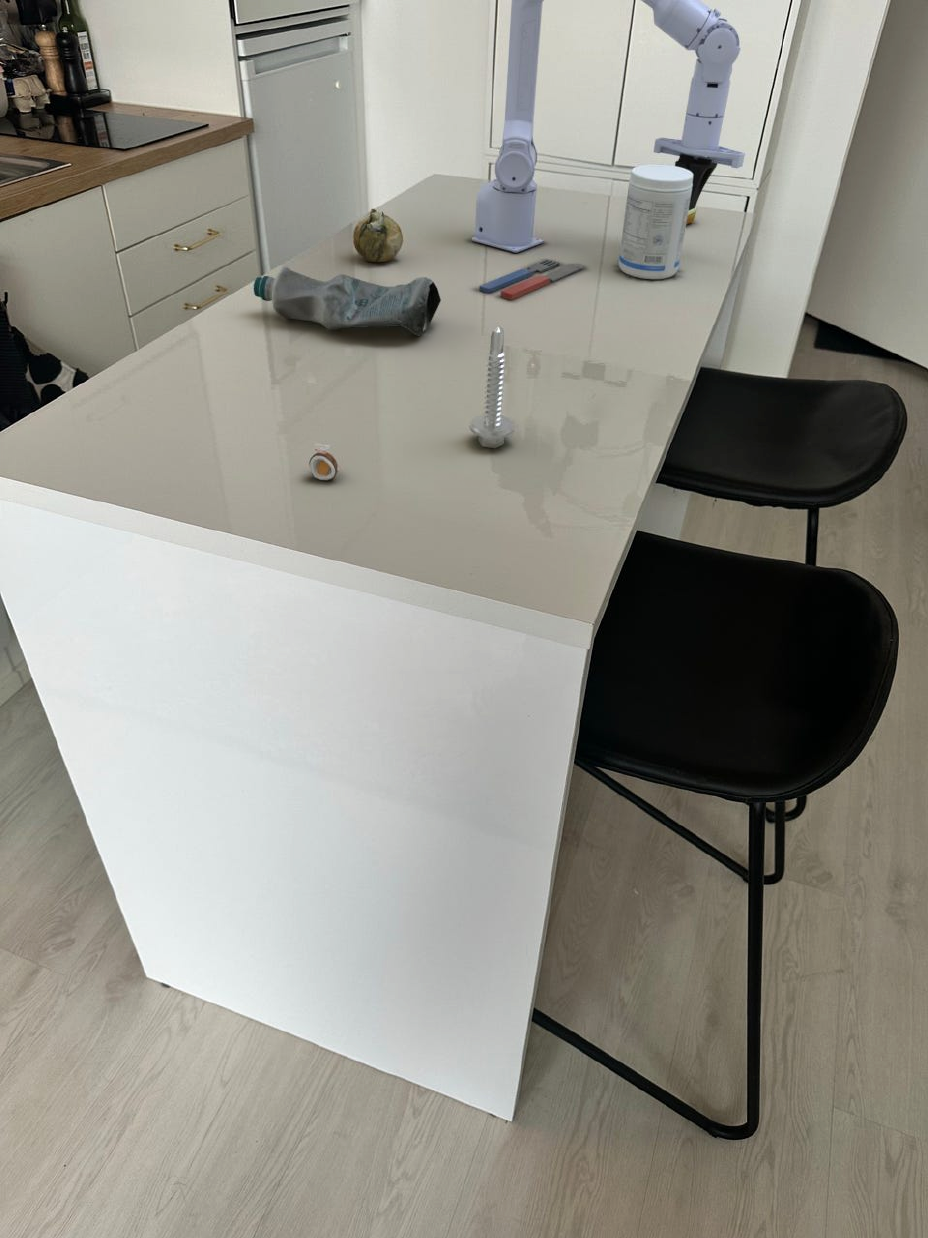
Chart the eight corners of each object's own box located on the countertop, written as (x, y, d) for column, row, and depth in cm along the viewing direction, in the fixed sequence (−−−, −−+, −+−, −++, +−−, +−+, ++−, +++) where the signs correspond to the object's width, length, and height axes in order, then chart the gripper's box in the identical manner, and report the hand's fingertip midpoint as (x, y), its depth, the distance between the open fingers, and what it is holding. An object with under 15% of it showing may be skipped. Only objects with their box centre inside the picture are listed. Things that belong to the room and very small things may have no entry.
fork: (490, 294, 136) (491, 289, 136) (477, 289, 137) (477, 285, 137) (559, 265, 148) (560, 260, 147) (546, 261, 149) (547, 256, 148)
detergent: (447, 316, 128) (278, 290, 132) (449, 265, 123) (273, 240, 127) (422, 359, 119) (241, 331, 122) (422, 306, 114) (233, 278, 118)
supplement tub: (645, 257, 152) (660, 160, 143) (690, 273, 147) (708, 173, 137) (604, 268, 147) (617, 168, 138) (649, 285, 142) (665, 182, 132)
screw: (504, 430, 102) (519, 450, 99) (463, 434, 101) (476, 455, 98) (513, 314, 94) (529, 332, 91) (468, 318, 93) (482, 336, 89)
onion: (412, 262, 146) (413, 209, 141) (368, 270, 142) (367, 215, 137) (388, 249, 151) (387, 197, 146) (345, 256, 147) (343, 203, 142)
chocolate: (345, 474, 93) (343, 439, 91) (335, 485, 92) (333, 449, 89) (318, 468, 94) (316, 433, 92) (308, 478, 93) (305, 443, 90)
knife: (511, 300, 134) (512, 294, 134) (500, 296, 135) (500, 290, 135) (585, 268, 147) (585, 262, 146) (574, 265, 148) (574, 259, 147)
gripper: (760, 117, 140) (740, 212, 148) (675, 103, 147) (660, 194, 155) (740, 124, 135) (721, 221, 144) (653, 109, 142) (639, 202, 151)
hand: (688, 208), depth 149 cm, fingers closed
